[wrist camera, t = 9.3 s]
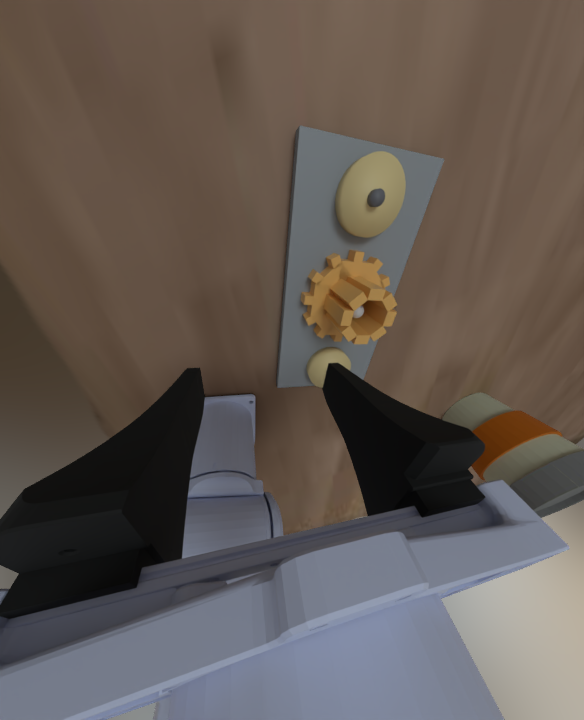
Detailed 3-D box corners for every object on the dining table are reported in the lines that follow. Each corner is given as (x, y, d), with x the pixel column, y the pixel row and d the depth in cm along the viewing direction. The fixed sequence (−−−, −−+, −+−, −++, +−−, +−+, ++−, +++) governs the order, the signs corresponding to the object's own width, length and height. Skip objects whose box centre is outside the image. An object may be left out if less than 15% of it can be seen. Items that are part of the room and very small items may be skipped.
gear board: (358, 377, 28) (377, 402, 24) (276, 382, 25) (282, 411, 22) (434, 161, 16) (492, 146, 13) (296, 130, 14) (317, 99, 10)
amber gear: (367, 335, 23) (395, 361, 19) (295, 336, 21) (309, 364, 17) (395, 254, 19) (438, 264, 15) (307, 245, 17) (329, 255, 13)
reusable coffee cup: (460, 435, 44) (544, 519, 32) (419, 430, 39) (500, 526, 27) (511, 390, 38) (638, 472, 26) (470, 378, 33) (603, 471, 21)
